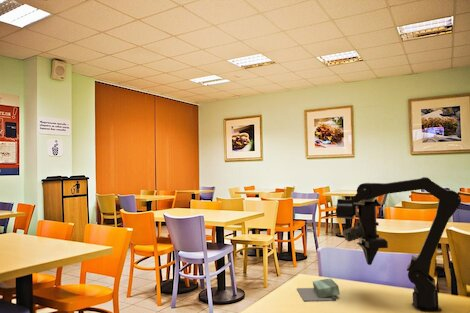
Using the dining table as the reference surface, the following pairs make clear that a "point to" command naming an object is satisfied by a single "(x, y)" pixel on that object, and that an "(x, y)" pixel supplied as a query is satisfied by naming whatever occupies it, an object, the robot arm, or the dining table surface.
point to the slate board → (313, 295)
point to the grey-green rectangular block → (326, 288)
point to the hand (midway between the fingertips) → (369, 264)
